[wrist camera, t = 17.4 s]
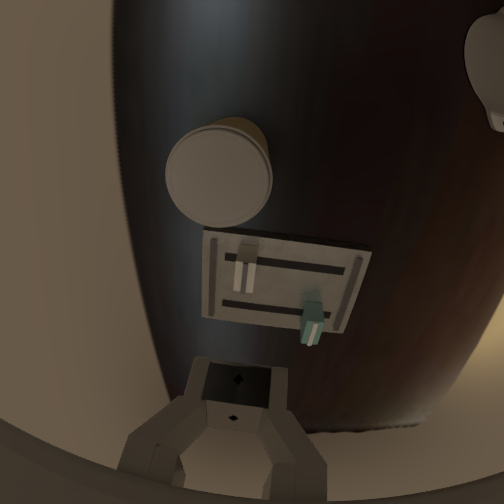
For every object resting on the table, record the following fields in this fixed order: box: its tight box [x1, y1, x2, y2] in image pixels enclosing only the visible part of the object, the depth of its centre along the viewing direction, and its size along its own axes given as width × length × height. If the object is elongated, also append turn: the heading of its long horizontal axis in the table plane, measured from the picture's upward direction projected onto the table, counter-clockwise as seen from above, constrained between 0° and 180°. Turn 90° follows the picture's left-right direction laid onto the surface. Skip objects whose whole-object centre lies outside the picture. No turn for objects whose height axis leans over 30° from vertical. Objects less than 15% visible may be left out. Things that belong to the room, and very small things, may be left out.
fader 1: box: [233, 244, 258, 294], centre depth 41 cm, size 2×4×4 cm, turn 174°
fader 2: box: [300, 302, 325, 346], centre depth 45 cm, size 2×4×4 cm, turn 174°
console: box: [202, 226, 372, 333], centre depth 45 cm, size 22×15×2 cm
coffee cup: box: [165, 117, 273, 228], centre depth 32 cm, size 9×9×12 cm
